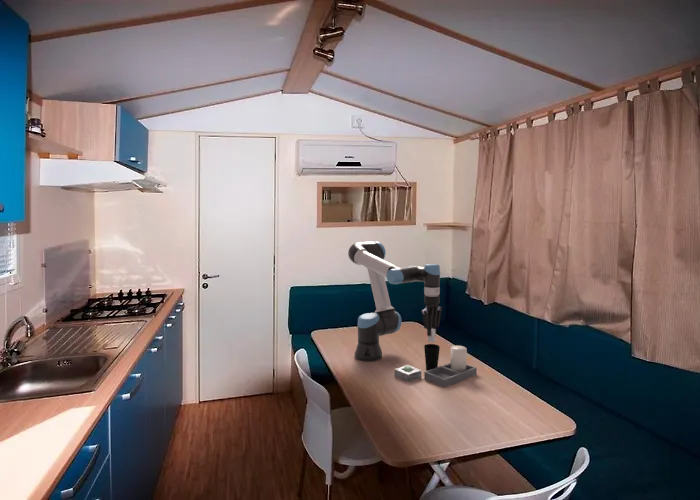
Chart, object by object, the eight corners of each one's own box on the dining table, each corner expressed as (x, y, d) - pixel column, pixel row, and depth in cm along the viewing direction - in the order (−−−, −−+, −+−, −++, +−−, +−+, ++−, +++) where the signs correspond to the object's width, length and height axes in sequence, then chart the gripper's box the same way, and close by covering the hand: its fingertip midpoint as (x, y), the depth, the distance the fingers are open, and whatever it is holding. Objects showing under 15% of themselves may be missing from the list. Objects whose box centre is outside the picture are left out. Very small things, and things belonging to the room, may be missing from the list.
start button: (402, 374, 201) (402, 367, 200) (407, 372, 203) (407, 365, 203) (407, 376, 198) (407, 369, 197) (413, 375, 200) (413, 367, 200)
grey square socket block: (394, 376, 201) (394, 369, 201) (407, 371, 207) (407, 364, 206) (408, 381, 194) (408, 374, 194) (421, 377, 200) (421, 370, 199)
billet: (447, 371, 204) (447, 347, 203) (456, 367, 209) (457, 344, 208) (459, 376, 198) (460, 351, 197) (469, 372, 203) (470, 348, 202)
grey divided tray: (424, 378, 198) (424, 371, 197) (455, 367, 212) (456, 360, 212) (444, 387, 188) (444, 379, 188) (476, 374, 202) (476, 367, 202)
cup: (439, 372, 205) (439, 349, 204) (423, 371, 206) (424, 348, 205) (439, 367, 212) (439, 344, 211) (424, 366, 214) (424, 343, 213)
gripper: (427, 298, 198) (427, 346, 200) (447, 294, 207) (446, 340, 209) (416, 295, 204) (416, 342, 206) (435, 292, 213) (435, 337, 215)
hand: (431, 341), depth 208 cm, fingers closed
